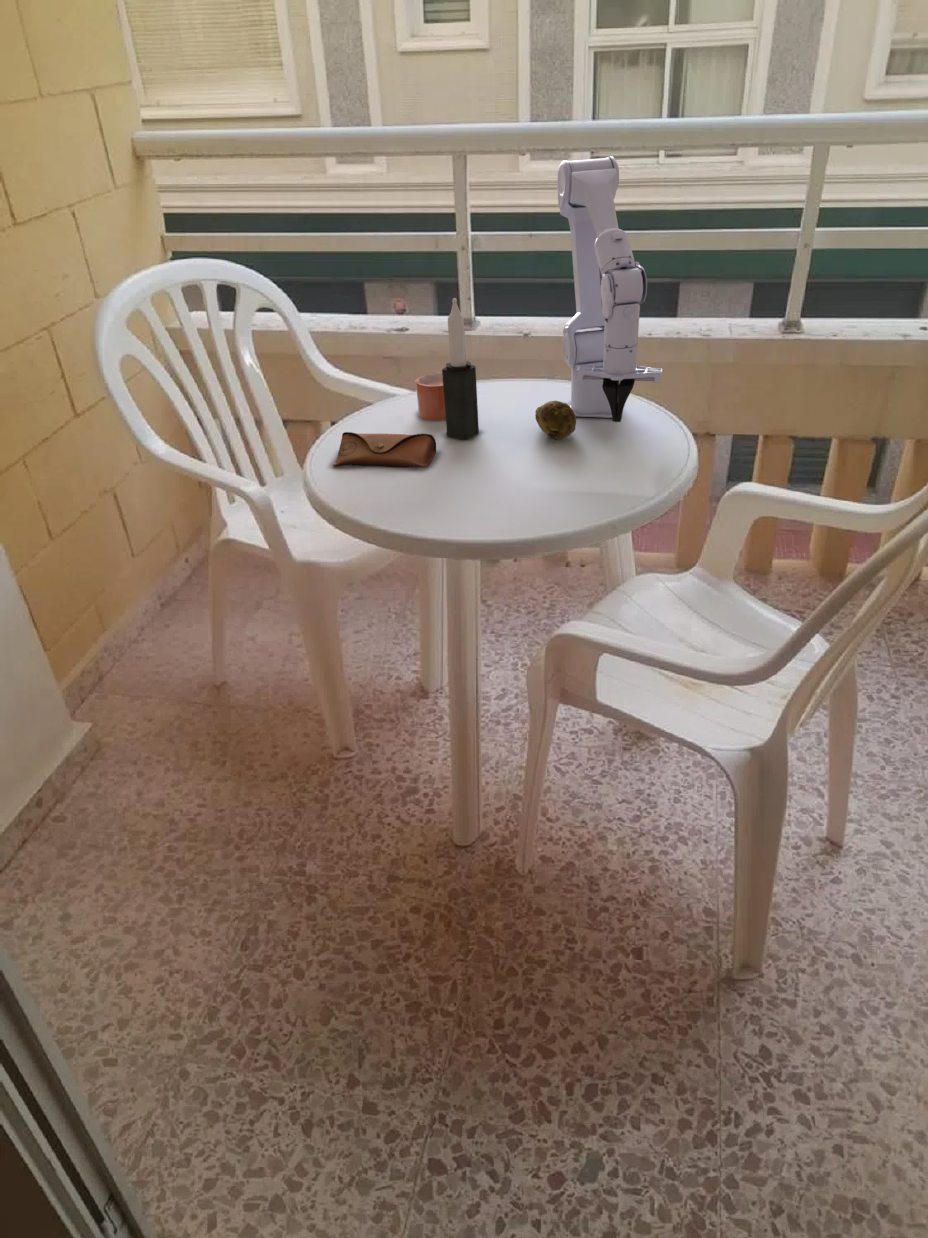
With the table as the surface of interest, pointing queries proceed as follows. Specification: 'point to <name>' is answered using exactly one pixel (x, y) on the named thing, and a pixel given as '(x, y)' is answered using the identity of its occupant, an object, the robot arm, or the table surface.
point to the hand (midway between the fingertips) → (617, 419)
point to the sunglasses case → (386, 450)
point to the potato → (556, 419)
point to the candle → (459, 383)
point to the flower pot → (431, 396)
